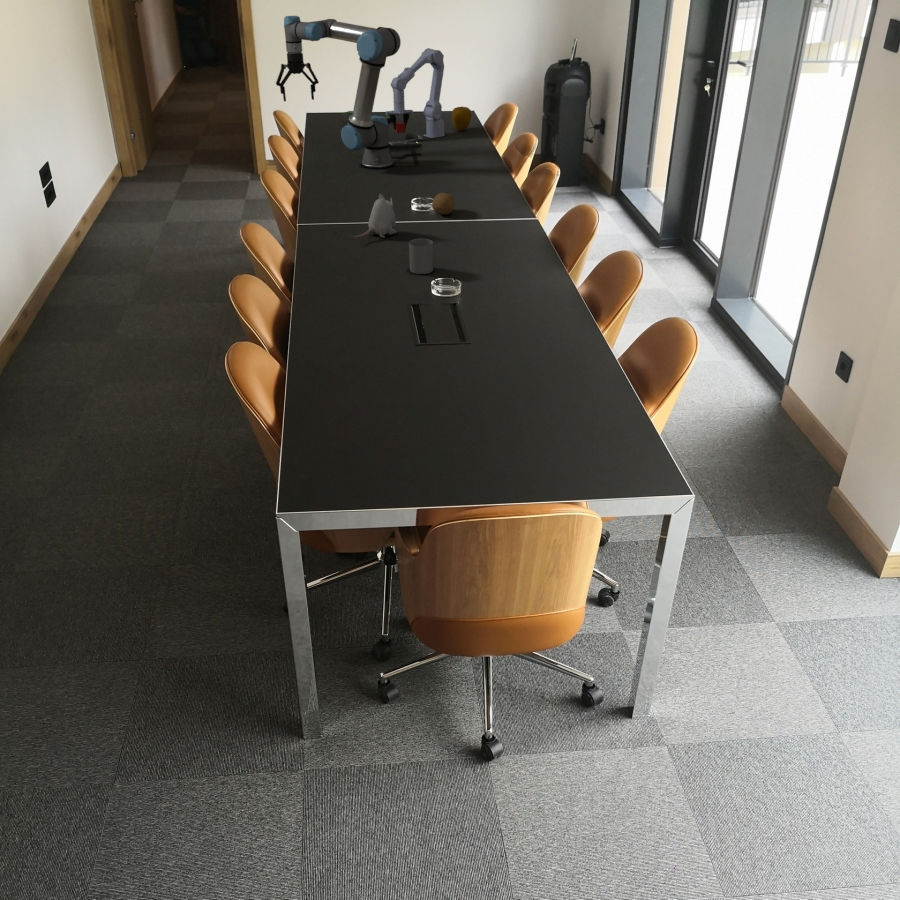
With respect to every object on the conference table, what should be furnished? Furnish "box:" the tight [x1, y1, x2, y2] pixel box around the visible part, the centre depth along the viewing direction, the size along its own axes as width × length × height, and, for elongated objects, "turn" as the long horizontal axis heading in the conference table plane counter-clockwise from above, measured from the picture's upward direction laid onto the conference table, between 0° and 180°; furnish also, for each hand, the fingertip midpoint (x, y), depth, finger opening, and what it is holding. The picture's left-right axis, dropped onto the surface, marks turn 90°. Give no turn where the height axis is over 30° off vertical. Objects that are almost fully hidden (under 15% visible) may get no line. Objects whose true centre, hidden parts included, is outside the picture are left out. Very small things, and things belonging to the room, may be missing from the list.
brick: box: [393, 120, 406, 134], centre depth 464 cm, size 5×5×5 cm
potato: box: [431, 192, 456, 216], centre depth 360 cm, size 10×14×8 cm
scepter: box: [341, 110, 393, 125], centre depth 505 cm, size 6×13×30 cm
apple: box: [451, 105, 472, 132], centre depth 487 cm, size 11×11×13 cm
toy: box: [350, 193, 398, 239], centre depth 333 cm, size 9×24×15 cm, turn 137°
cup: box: [408, 237, 434, 275], centre depth 305 cm, size 8×8×10 cm
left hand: (298, 100), depth 420 cm, fingers open, 13 cm apart
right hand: (399, 129), depth 465 cm, fingers closed on brick, 5 cm apart
